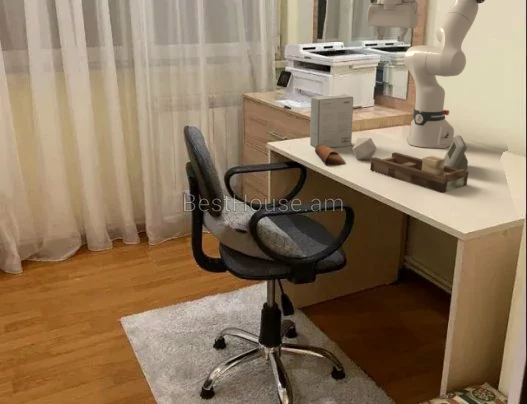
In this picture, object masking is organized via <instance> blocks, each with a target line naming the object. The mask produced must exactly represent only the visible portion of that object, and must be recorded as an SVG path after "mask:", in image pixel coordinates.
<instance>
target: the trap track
mask: <svg viewBox="0 0 527 404" xmlns="http://www.w3.org/2000/svg"><path fill="white" fill-rule="evenodd" d="M422 161H423V158H419V157H415V156H412V155H408V154H404V153H400V152H392V153H391V156H390V157H388V158H379V157H377V156H375V157H374V156H373V157H372V158H371V160H370V170H372V171H371V172H373V171H375V172H374V173H377V172H378V174H380V173H381V175H383V174H384V175H383V176H386V175H387V177H390V176H391V177H390V178H393V179H397V180H400V181H403V182H406V183H410V184H413V185H416V186H419V187H422V188H425V189H429V190H432V191H436V192H438V193H442V194H443V193H446V192H449V191H452V190H455V189H458V188H459V189H460V188H461V187H464V186H467V185H468V178H469V171H468V170H467V171H465V170H464V169H461V170H460V169H457V168H453V167H449V166H445V164H444V173H443V174H440V175H436V174H432V173H429V172H425V171H422Z"/></svg>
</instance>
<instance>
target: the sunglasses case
mask: <svg viewBox="0 0 527 404" xmlns="http://www.w3.org/2000/svg"><path fill="white" fill-rule="evenodd" d="M314 152H315V153H316V155H318V156H319V158H320V159H321V160H322V161H323V163H324V164H325V165H326V166H341V165H344V166H345V165H347V162H346V161H345V160H344V159H343V158H342V156H341V155H340V154H339V152H338V151H337V150H335V149H333V147H331V148H330V147H328V146H325V145H318V146H317V147H316V148H315V147H314Z"/></svg>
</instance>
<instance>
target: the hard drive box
mask: <svg viewBox="0 0 527 404" xmlns="http://www.w3.org/2000/svg"><path fill="white" fill-rule="evenodd" d="M353 112H354V96H352V95H348V94H346V93H344V94H343V93H342V94H329V95H318V96H317V95H315V96H310V132H309V133H310V134H309V135H310V137H309V138H310V142H309V143H310V146H311V147H313V148H314V149H315V148H316V147H317V146H318V145H325V146H328V147H330V148H339V147H348V146H349V147H350V146H352V140H353V139H352V134H353Z"/></svg>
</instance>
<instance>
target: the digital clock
mask: <svg viewBox="0 0 527 404" xmlns="http://www.w3.org/2000/svg"><path fill="white" fill-rule="evenodd" d="M467 149H468V147H467V145H466V143H465V141H464V138H463V136H461V135H459V134H458V135H456V136H454V140H453V142H452V144H451V146H449V147H448V150H447V152H446V153H445V155H444V157H443V158H444V159H445V164H444V165H445V166H449V167H453V168H457V169H460V170H461V169H464V170H465V171H468V162H469V161H468V158H467V156H466V154H465V153H466V151H467Z"/></svg>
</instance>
